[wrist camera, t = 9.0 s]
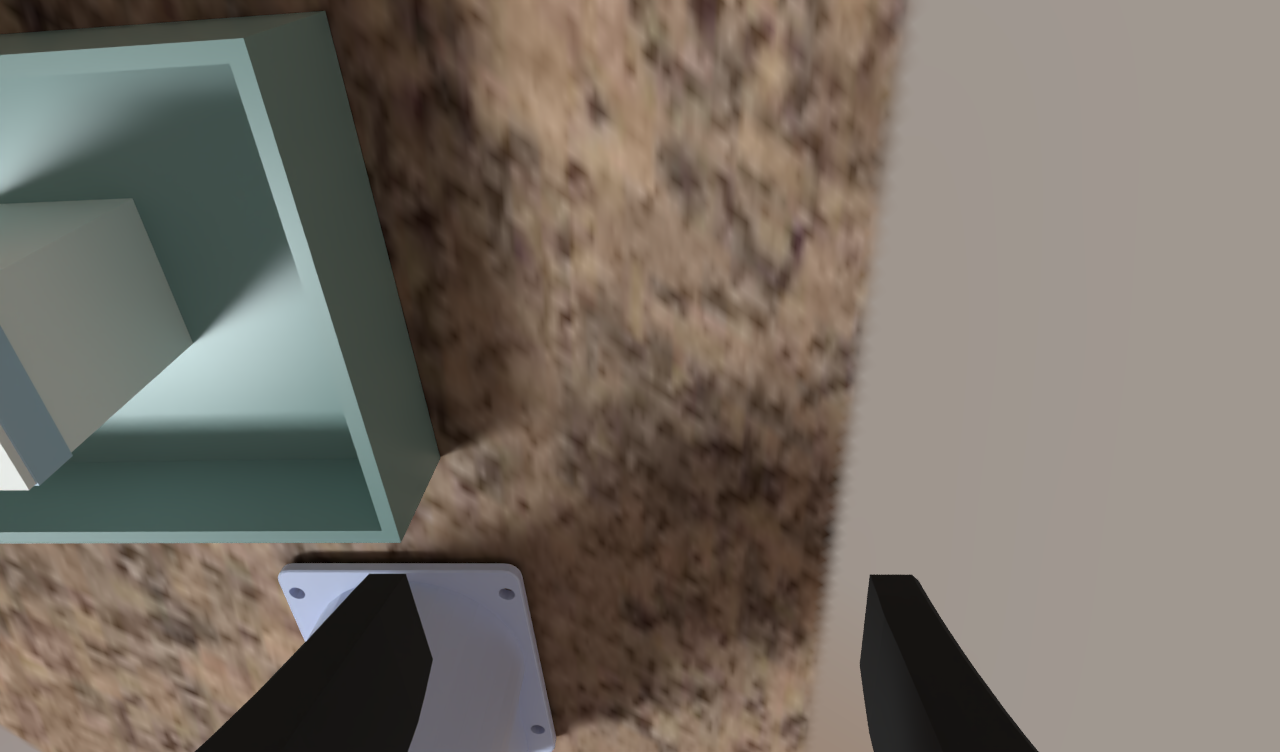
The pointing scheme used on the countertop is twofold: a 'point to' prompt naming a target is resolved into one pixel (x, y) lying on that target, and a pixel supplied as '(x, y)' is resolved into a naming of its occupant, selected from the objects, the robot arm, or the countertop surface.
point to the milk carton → (75, 327)
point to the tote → (227, 286)
